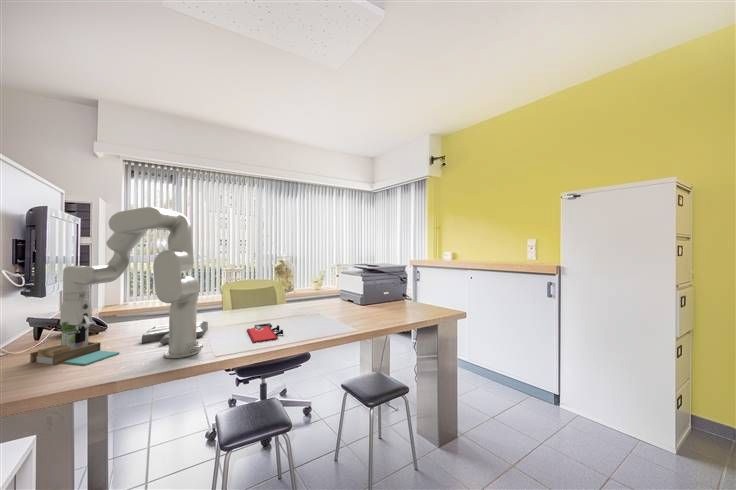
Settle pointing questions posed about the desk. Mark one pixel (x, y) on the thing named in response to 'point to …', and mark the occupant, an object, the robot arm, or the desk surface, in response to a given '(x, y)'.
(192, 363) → the desk surface
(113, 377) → the desk surface
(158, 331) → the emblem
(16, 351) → the desk surface
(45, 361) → the grey offcut
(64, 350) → the oak offcut
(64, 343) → the ink box
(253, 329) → the red board with handle
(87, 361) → the teal mat
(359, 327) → the desk surface
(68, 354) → the tray
